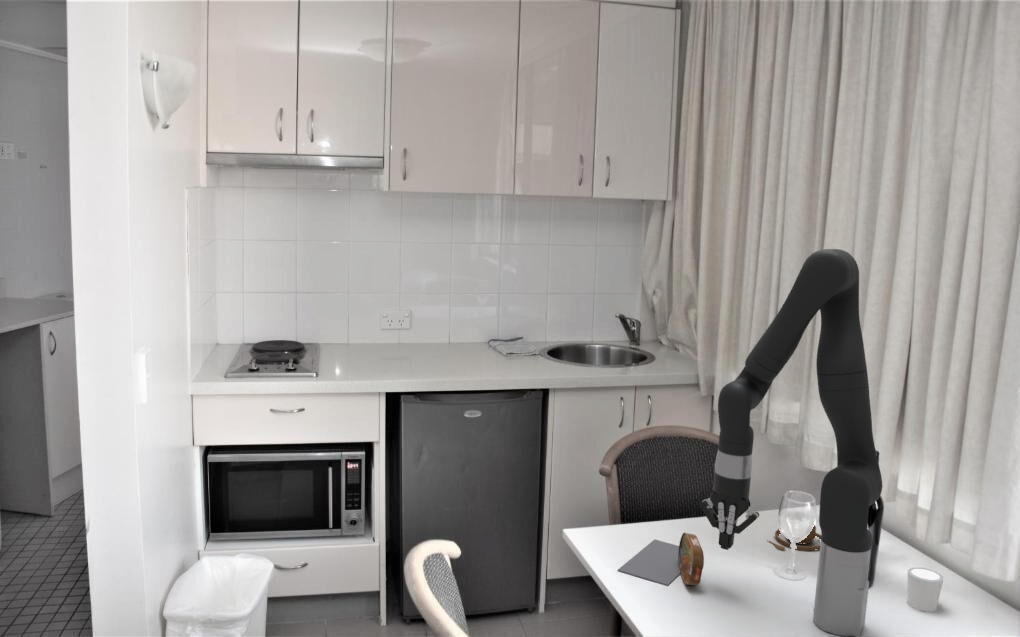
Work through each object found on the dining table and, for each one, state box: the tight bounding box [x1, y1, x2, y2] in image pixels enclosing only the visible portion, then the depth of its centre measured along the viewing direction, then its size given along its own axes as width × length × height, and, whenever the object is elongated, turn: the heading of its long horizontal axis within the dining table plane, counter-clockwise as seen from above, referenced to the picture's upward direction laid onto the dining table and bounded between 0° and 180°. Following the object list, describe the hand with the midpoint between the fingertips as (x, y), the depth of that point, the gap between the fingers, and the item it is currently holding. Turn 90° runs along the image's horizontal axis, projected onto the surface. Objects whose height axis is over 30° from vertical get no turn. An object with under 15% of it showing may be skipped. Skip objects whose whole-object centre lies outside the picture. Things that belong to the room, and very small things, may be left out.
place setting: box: [768, 524, 821, 551], centre depth 203 cm, size 18×20×6 cm
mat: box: [617, 539, 681, 587], centre depth 192 cm, size 12×21×1 cm, turn 147°
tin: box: [678, 532, 705, 586], centre depth 184 cm, size 15×3×8 cm, turn 178°
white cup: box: [906, 566, 944, 613], centre depth 175 cm, size 7×7×7 cm
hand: (725, 547), depth 180 cm, fingers closed
